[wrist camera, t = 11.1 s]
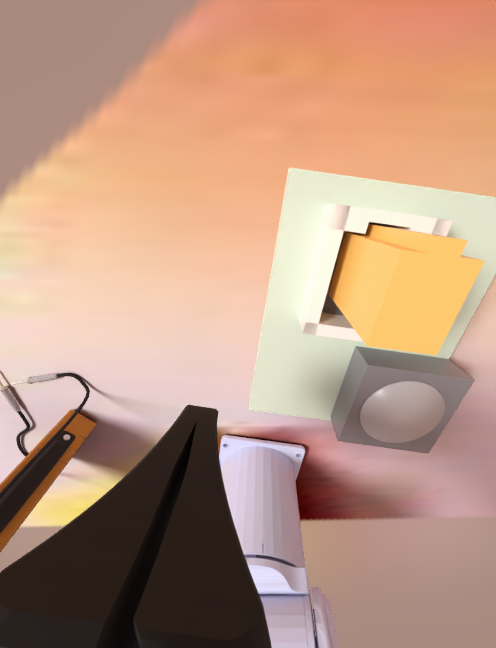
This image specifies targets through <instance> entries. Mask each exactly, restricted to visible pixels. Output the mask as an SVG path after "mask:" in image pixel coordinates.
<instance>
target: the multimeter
mask: <svg viewBox="0 0 496 648" xmlns="http://www.w3.org/2000/svg"><path fill="white" fill-rule="evenodd" d="M62 376H71V377H74V378H76V379H77V380H79V381H80V383H81V384H82V385H83V386H84V388H85V389H86V392H87V393H86V397H85V398H84V400H83V402H82V404H81V405H80V406H79V408H78V409H77V410H76V411H74V410H70V411H69V412H68V413H67V414H66V415H65V416H64V417H63V418H62V419H61V420H60V421H59V422H58V424H57V425H56V426H55V427H54V428H53V429H52V430H51V431H50V432H49V433H48V434H47V435H46V436H45V437H44V438H43V439H42V440H41V442H40V443H39V444H38V445H37V446H36V447H35V448H34V449H33V450H32V451H31V452H30V453H29V454H27V453H26V452H25V451H24V450H23V449H22V447H21V444H20V436H21V435H22V434H23V433H25V432H26V431H27V430H29V428H30V424H29V422H28V421H27V419H26V418H25V416H24V415H23V414H22V412H21V411H20V410H21V409H20V407H19V405H18V403H17V402H16V400H15V399H14V397H13V396H12V394H11V393H10V391H9V390H8V386H5V387H4V386H3V385H2V383H1V382H0V387H1V389H0V391H1V392H2V394H3V395H4V396H5V398H6V399H7V401H8V402H9V404H10V405H11V407H12V408H13V409H14V410H15V411H16V412H18V414H19V415H20V416H21V418H22V419H23V421H24V422H25V424H26V426H27V428H26V429H25V430H23V431H22V432H20V433H19V434H18V435H17V445H18V448H19V450H20V451H21V452H22V453H23V455H24V456H26V457H25V458H24V460H23V461H22V462H21V463H20V464H19V465H18V466H17V467H16V468H15V469H14V470H13V471H12V472H11V473H10V474H9V475H8V476H7V478H6V479H5V480H4V481H3V482H2V483H1V484H0V552H1V551H2V549H3V548H4V547H5V545H6V544H7V543H8V541H9V540H10V539H11V537H12V536H13V535H14V533H15V532H16V531H17V530H18V528H19V527H20V526H21V524H22V523H23V522H24V520H25V519H26V518H27V516H28V515H29V514H30V512H31V511H32V510H33V508H34V507H35V506H36V504H37V503H38V502H39V500H40V499H41V498H42V497H43V495H44V494H45V493H46V491H47V490H48V489H49V487H50V486H51V485H52V483H53V482H54V481H55V479H56V478H57V477H58V475H59V474H60V473H61V471H62V470H63V469H64V467H65V466H66V465H67V464H68V462H69V461H70V460H71V458H72V457H73V456H74V454H75V453H76V452H77V450H78V449H79V448H80V446H81V445H82V444H83V442H84V441H85V440H86V438H87V437H88V436H89V434H90V433H91V431H92V430H93V429H94V427H95V426H96V423H95V422H93V421H91V420H90V419H88V418H86V417H84V416H83V415H81V414H79V412H80V410H81V409H82V407H83V406H84V405H85V403H86V401H87V399H88V397H89V393H90V390H89V388H88V386H87V385H86V384H85V382H84V381H83V380H82V379H81V378H80V377H79V376H77V375H75V374H72V373H63V374H49V375H43V376H37V377H29V378H28V379H27V380H24V381H18V382H14V383H11V384H19V383H25V382H28V383H29V384H32V383H35V382H41V381H46V380H52V379H55V378H58V377H62Z"/></svg>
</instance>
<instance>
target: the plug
mask: <svg viewBox="0 0 496 648" xmlns="http://www.w3.org/2000/svg"><path fill="white" fill-rule="evenodd" d="M467 242H468V240H464V239H458V238H452V237H446V236H440V235H435V234H429V233H423V232H417V231H411V230H405V229H399V228H393V227H387V226H381V225H373V224H368V227H367V230H366V233H365V234H363V233H360V234H358V233H351V232H345V234H344V238H343V242H342V246H341V249H340V253H339V257H338V261H337V264H336V268H335V272H334V276H333V279H332V283H331V287H330V291H329V296H330V297H331V298H332V300H333V301H334V302H335V304H336V305H337V306H338V308H339V309H340V310H341V312H342V313H343V315H344V316H345V317H346V319H347V320H348V321H349V323H350V324H351V325H352V327H353V328H354V329H355V331H356V332H357V334H358V335H359V336H360V338H361V339H362V340H363V342H364V343H365V344H366V346H370V347H377V348H385V349H393V350H400V351H408V352H415V353H423V354H431V355H437V354H438V352H439V350H440V348H441V346H442V344H443V342H444V340H445V338H446V336H447V334H448V332H449V330H450V329H451V327H452V325H453V323H454V321H455V319H456V317H457V315H458V313H459V311H460V309H461V307H462V305H463V303H464V301H465V299H466V297H467V295H468V293H469V291H470V289H471V287H472V285H473V283H474V281H475V280H476V278H477V276H478V274H479V272H480V270H481V268H482V266H483V264H484V262H485V261H484V260H480V259H476V258H472V257H468V256H464V255H462V253H463V250H464V248H465V246H466V244H467Z"/></svg>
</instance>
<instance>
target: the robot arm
mask: <svg viewBox="0 0 496 648" xmlns="http://www.w3.org/2000/svg"><path fill="white" fill-rule="evenodd" d="M217 418H218V411H217V410H216V409H212V408H206V407H199V406H193V405H187V406H186V407H185V408H184V410H183V411H182V413H181V414H180V416H179V417H178V419H177V420H176V421H175V422H174V424H173V425H172V426H171V428H170V429H169V430H168V431H167V432H166V434H165V435H164V436H163V437H162V438H161V440H160V441H159V442H158V443H157V444H156V445H155V446H154V447H153V449H152V450H151V451H150V452H149V453H148V454H147V455H146V456H145V457H144V458H143V459H142V460H141V461H140V462H139V463H138V464H137V465H136V466H135V467H134V468H133V469H132V470H131V471H130V472H129V473H128V474H127V475H126V476H125V477H124V478H123V479H122V480H121V481H120V482H119V483H117V484H116V485H115V486H114V487H113V488H112V489H111V490H109V491H108V492H107V493H106V494H105V495H104V496H102V497H101V498H100V499H99V500H98V501H97V502H95V503H94V504H93V505H92V506H91V507H89V508H88V509H87V510H86V511H84V512H83V513H82V514H80V515H79V516H78V517H76V518H75V519H74V520H73V521H71V522H70V523H69V524H67V525H66V526H65V527H63V528H62V529H61V530H59V531H58V532H57V533H55V534H54V535H53V536H51V537H50V538H49V539H47V540H46V541H44V542H43V543H42V544H40V545H39V546H37V547H36V548H34V549H33V550H31V551H30V552H28V553H27V554H25V555H24V556H23V557H21V558H20V559H18V560H17V561H15V562H14V563H12V564H11V565H9V566H8V567H6V568H5V569H4V570H2V571H1V573H0V648H339V647H338V641H337V636H336V630H335V624H334V619H333V614H332V609H331V604H330V601H329V599H327V597H326V596H325V595H324V594H322V591H321V589H320V588H319V587H312V595H313V603H314V609H313V613H314V621H315V629H316V637H315V630H314V622H313V614H312V606H311V597H310V590H309V583H308V576H307V570H306V568H305V559H304V551H303V542H302V534H301V525H300V517H299V508H298V500H297V491H296V479H297V476H298V473H299V470H300V467H301V463H302V460H303V457H304V454H305V448H304V447H303V446H301V445H295V444H288V443H281V442H273V441H266V440H259V439H252V438H244V437H237V436H230V435H224V436H223V437H222V439H221V446H220V455H219V452H218V443H217Z"/></svg>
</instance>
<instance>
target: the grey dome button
mask: <svg viewBox="0 0 496 648" xmlns="http://www.w3.org/2000/svg"><path fill="white" fill-rule="evenodd" d="M473 381H474V379H473V378H471V377H470V376H469V375H468V374H467V373H465V372H464V371H463V370H462V369H461V368H459V367H458V366H457V365H456V364H454V363H453V362H452V361H451V360H450V359H445V358H438V357H431V356H424V355H417V354H410V353H403V352H396V351H388V350H381V349H374V348H367V347H360V346H355V348H354V351H353V354H352V357H351V360H350V362H349V365H348V368H347V371H346V374H345V376H344V379H343V382H342V385H341V388H340V390H339V393H338V396H337V399H336V402H335V405H334V407H333V410H332V413H331V416H330V417H331V420H332V424H333V427H334V430H335V433H336V436H337V439H338V441H342V442H349V443H356V444H364V445H371V446H378V447H385V448H393V449H400V450H407V451H414V452H421V453H429V452H430V450H431V448H432V447H433V445H434V444H435V442H436V440H437V439H438V437H439V436H440V434H441V432H442V431H443V429H444V428H445V426H446V424H447V423H448V421H449V420H450V418H451V417H452V415H453V413H454V412H455V410H456V409H457V407H458V405H459V404H460V402H461V401H462V399H463V397H464V396H465V394H466V393H467V391H468V389H469V388H470V386H471V385H472V383H473Z"/></svg>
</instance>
